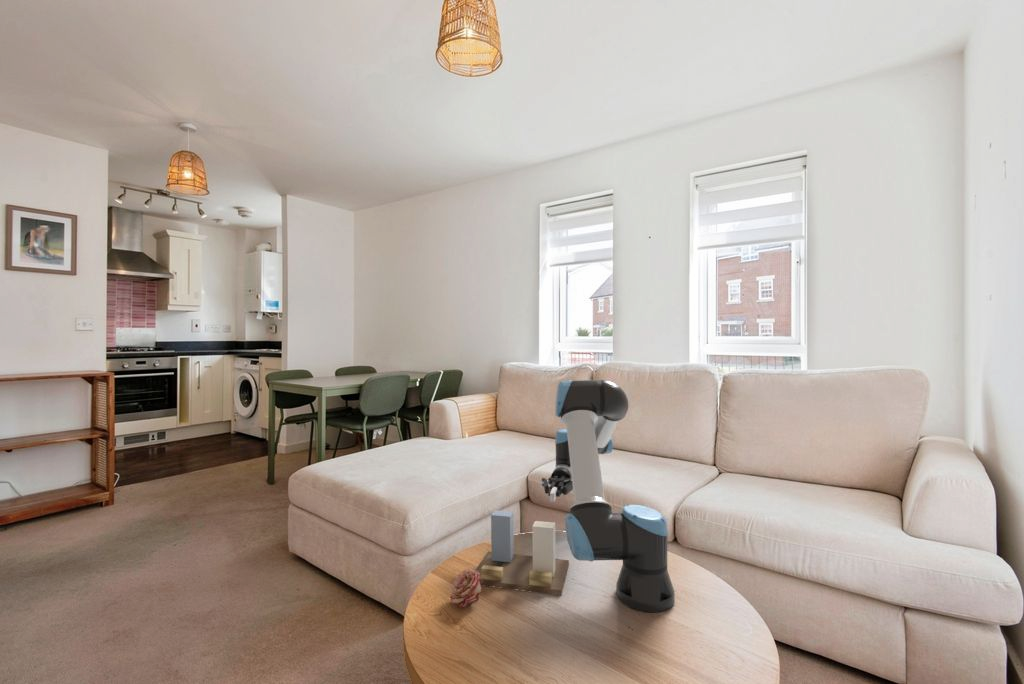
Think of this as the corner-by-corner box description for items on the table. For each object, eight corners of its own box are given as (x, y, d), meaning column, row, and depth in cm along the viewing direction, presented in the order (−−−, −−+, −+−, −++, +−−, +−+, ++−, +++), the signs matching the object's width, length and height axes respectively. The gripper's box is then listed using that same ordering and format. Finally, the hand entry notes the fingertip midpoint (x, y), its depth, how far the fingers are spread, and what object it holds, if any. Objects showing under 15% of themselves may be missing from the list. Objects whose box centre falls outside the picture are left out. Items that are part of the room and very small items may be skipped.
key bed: (568, 565, 140) (568, 550, 140) (561, 595, 124) (561, 579, 124) (487, 555, 147) (487, 542, 146) (470, 584, 130) (470, 568, 130)
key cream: (555, 569, 134) (555, 522, 134) (553, 577, 130) (553, 528, 130) (535, 567, 135) (535, 520, 135) (532, 574, 131) (532, 526, 131)
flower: (478, 581, 128) (462, 561, 126) (498, 587, 121) (481, 567, 119) (457, 613, 123) (439, 593, 121) (476, 622, 116) (458, 601, 114)
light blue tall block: (513, 556, 143) (513, 511, 142) (510, 562, 139) (510, 516, 138) (495, 553, 144) (494, 509, 144) (491, 560, 140) (491, 515, 140)
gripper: (579, 488, 169) (572, 510, 146) (544, 485, 172) (532, 507, 149) (579, 467, 169) (572, 487, 146) (544, 466, 172) (532, 484, 150)
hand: (552, 497), depth 148 cm, fingers closed
